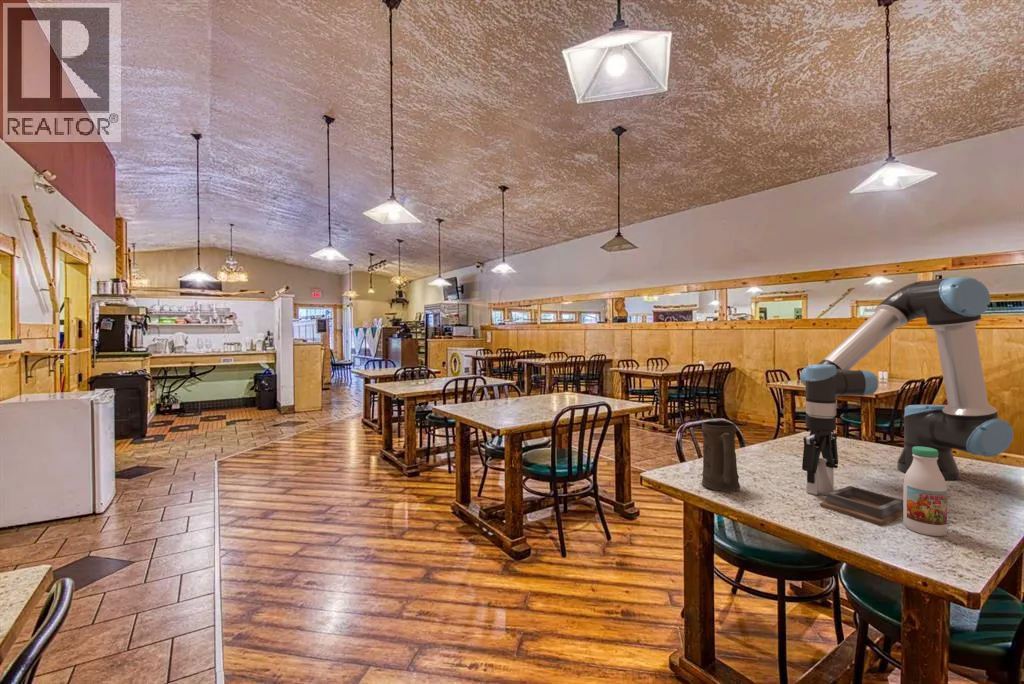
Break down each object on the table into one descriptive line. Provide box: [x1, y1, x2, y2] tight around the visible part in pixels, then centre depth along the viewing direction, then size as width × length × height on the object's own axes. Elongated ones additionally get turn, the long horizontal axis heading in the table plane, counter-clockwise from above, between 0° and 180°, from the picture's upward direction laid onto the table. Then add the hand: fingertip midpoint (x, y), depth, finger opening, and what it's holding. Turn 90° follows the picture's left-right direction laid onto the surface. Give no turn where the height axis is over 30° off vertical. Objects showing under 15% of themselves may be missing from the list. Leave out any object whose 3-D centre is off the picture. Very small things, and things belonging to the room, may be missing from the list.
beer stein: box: [701, 421, 741, 492], centre depth 134 cm, size 15×11×20 cm
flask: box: [806, 457, 835, 496], centre depth 131 cm, size 7×7×10 cm
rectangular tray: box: [819, 485, 903, 527], centre depth 118 cm, size 16×14×4 cm
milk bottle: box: [902, 446, 948, 537], centre depth 105 cm, size 8×8×20 cm
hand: (820, 490), depth 131 cm, fingers closed on flask, 8 cm apart
